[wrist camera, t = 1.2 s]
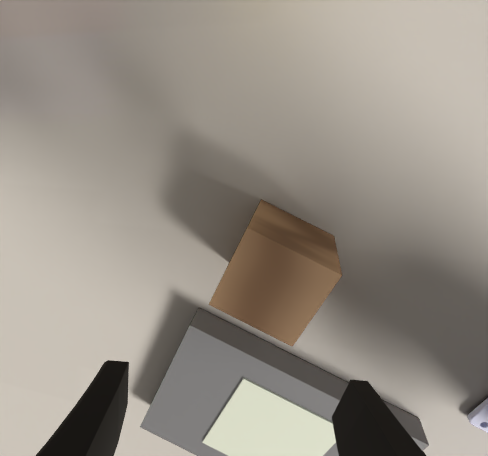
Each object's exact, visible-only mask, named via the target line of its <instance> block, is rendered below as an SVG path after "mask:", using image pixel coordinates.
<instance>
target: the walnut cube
mask: <svg viewBox="0 0 488 456" xmlns="http://www.w3.org/2000/svg"><path fill="white" fill-rule="evenodd" d="M341 276H342V272H341V267H340V262H339V258H338V253H337V248H336V243H335V238H334V236H333V235H331V234H329V233H327V232H325V231H323V230H321V229H319V228H317V227H315V226H313V225H311V224H309V223H307V222H305V221H303V220H301V219H299V218H297V217H295V216H293V215H291V214H289V213H287V212H285V211H283V210H281V209H279V208H277V207H275V206H273V205H271V204H269V203H267V202H265V201H263V200H261V201H260V203H259V205H258V207H257V209H256V211H255V213H254V215H253V217H252V219H251V221H250V223H249V225H248V227H247V229H246V231H245V233H244V235H243V237H242V239H241V241H240V243H239V245H238V247H237V249H236V251H235V253H234V255H233V257H232V259H231V261H230V262H229V265H228V267H227V269H226V271H225V273H224V275H223V277H222V279H221V281H220V283H219V285H218V287H217V289H216V291H215V293H214V295H213V297H212V299H211V301H210V303H209V305H211V306H213V307H215V308H217V309H219V310H221V311H223V312H225V313H227V314H229V315H231V316H233V317H235V318H237V319H239V320H241V321H243V322H245V323H247V324H248V325H250V326H252V327H254V328H256V329H258V330H260V331H262V332H264V333H266V334H268V335H270V336H272V337H274V338H276V339H278V340H280V341H282V342H284V343H286V344H288V345H290V346H293V345H294V343H295V342H296V341H297V339H298V338H299V336H300V335H301V333H302V332H303V331H304V329H305V328H306V326H307V325H308V323H309V322H310V321H311V319H312V318H313V316H314V315H315V313H316V312H317V311H318V309H319V308H320V306H321V305H322V303H323V302H324V301H325V299H326V298H327V296H328V295H329V293H330V292H331V291H332V289H333V288H334V286H335V285H336V283H337V282H338V281H339V279H340V278H341Z"/></svg>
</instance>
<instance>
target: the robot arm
mask: <svg viewBox="0 0 488 456" xmlns="http://www.w3.org/2000/svg"><path fill="white" fill-rule="evenodd" d="M128 369H129V362H121V361H109V360H108V361H106V362H105V363H104V364H103V365H102V367H101V369H100V370H99V372H98V374H97V375H96V377H95V378H94V380H93V381H92V383H91V384H90V386H89V387H88V388H87V390H86V391H85V393H84V394H83V396H82V397H81V398H80V400H79V401H78V402H77V404H76V405H75V407H74V408H73V409H72V411H71V412H70V413H69V415H68V416H67V417H66V418H65V420H64V421H63V422H62V424H61V425H60V426H59V428H58V429H57V430H56V431H55V433H54V434H53V435H52V437H51V438H50V439H49V440H48V442H47V443H46V444H45V445H44V446H43V448H42V449H41V450H40V451H39V452H38V453H37V455H36V456H114V453H115V450H116V447H117V444H118V441H119V437H120V433H121V429H122V425H123V421H124V417H125V412H126V408H127V404H128ZM467 418H468V420H469V422H470V424H472V425H473V426H475V427H477V428H479V429H481V430H483V431H485V432H487V433H488V398H487V399H486V400H485V401H483V402H482V403H481V404H480V405H479V406H478V407H476V408H475V409H474V410H473V411H472V412H470V413H469V415H468V417H467ZM332 423H333V428H334V434H335V439H336V445H337V450H338V454H339V456H426V455H425V453H424V452H423V451H422V450H421V449H420V447H419V446H418V445H417V444H416V442H415V441H414V440H413V439H412V437H411V436H410V435H409V434H408V432H407V431H406V430H405V429H404V427H403V426H402V425H401V423H400V422H399V421H398V420H397V418H396V417H395V416H394V414H393V413H392V412H391V411H390V409H389V408H388V407H387V405H386V404H385V403H384V402H383V400H382V399H381V398H380V396H379V395H378V394H377V393H376V391H375V390H374V389H373V387H372V386H371V385H370V384H369V382H368V381H359V380H350V382H349V384H348V386H347V388H346V390H345V392H344V394H343V396H342V398H341V400H340V401H339V403H338V405H337V407H336V409H335V411H334V413H333V415H332Z"/></svg>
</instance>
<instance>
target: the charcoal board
mask: <svg viewBox="0 0 488 456" xmlns="http://www.w3.org/2000/svg"><path fill="white" fill-rule="evenodd" d="M348 384H349V383H348V382H346V381H344V380H342V379H340V378H338V377H336V376H334V375H332V374H330V373H328V372H326V371H324V370H322V369H320V368H318V367H316V366H314V365H312V364H310V363H308V362H306V361H304V360H302V359H300V358H298V357H296V356H294V355H292V354H290V353H288V352H286V351H284V350H282V349H280V348H278V347H276V346H274V345H272V344H270V343H268V342H266V341H264V340H262V339H260V338H258V337H256V336H254V335H252V334H250V333H248V332H246V331H244V330H242V329H240V328H238V327H236V326H234V325H232V324H230V323H228V322H226V321H224V320H222V319H220V318H218V317H216V316H214V315H212V314H210V313H208V312H206V311H204V310H202V309H200V308H199V309H198V311H197V313H196V314H195V316H194V318H193V320H192V322H191V324H190V326H189V328H188V330H187V332H186V334H185V336H184V338H183V340H182V342H181V344H180V346H179V348H178V350H177V352H176V354H175V356H174V358H173V360H172V363H171V365H170V367H169V369H168V371H167V373H166V375H165V377H164V379H163V381H162V383H161V385H160V387H159V389H158V391H157V393H156V395H155V397H154V399H153V401H152V403H151V405H150V407H149V409H148V412H147V414H146V416H145V418H144V420H143V422H142V424H141V426H140V427H141V428H143V429H145V430H147V431H149V432H151V433H153V434H155V435H157V436H159V437H161V438H163V439H165V440H167V441H169V442H171V443H173V444H175V445H177V446H179V447H181V448H183V449H185V450H187V451H189V452H191V453H193V454H195V455H197V456H339V454H338V450H337V445H336V439H335V434H334V428H333V423H332V415H333V413H334V411H335V409H336V407H337V405H338V403H339V401H340V400H341V398H342V396H343V394H344V392H345V390H346V388H347V386H348ZM383 402H384V403H385V404H386V405H387V407H388V408H389V409H390V411H391V412H392V413H393V414H394V416H395V417H396V418H397V420H398V421H399V422H400V423H401V425H402V426H403V427H404V429H405V430H406V431H407V432H408V434H409V435H410V436H411V437H412V439H413V440H414V441H415V442H416V444H417V445H418V446H419V447H420V449H421V450H422V451H423V450H424V449H425V448H426V447H428V446H429V444H428V441H427V439H426V436H425V433H424V430H423V427H422V425H421V422H420V419H419V418H417V417H415V416H413V415H411V414H409V413H407V412H405V411H403V410H401V409H399V408H397V407H395V406H393V405H391V404H389V403H387V402H385V401H383Z"/></svg>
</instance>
